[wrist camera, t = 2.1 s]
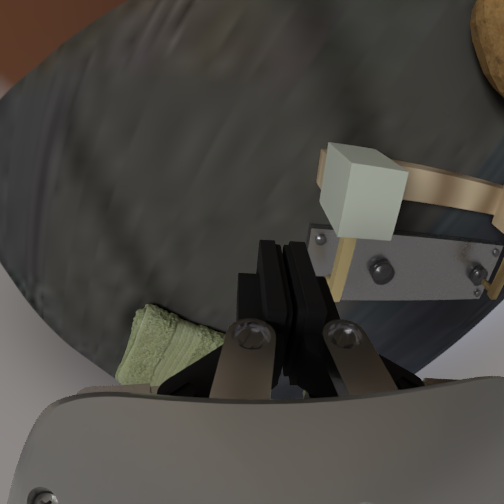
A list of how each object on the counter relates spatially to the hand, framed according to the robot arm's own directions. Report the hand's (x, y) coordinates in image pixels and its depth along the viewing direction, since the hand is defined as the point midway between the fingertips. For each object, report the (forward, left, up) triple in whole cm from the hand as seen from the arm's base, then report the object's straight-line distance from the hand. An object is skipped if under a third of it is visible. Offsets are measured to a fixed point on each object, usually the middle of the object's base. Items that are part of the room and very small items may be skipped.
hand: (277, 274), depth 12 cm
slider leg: (-7, +4, -14) cm, 16 cm away
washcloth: (+9, +26, -17) cm, 32 cm away
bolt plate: (-17, +9, -16) cm, 25 cm away
